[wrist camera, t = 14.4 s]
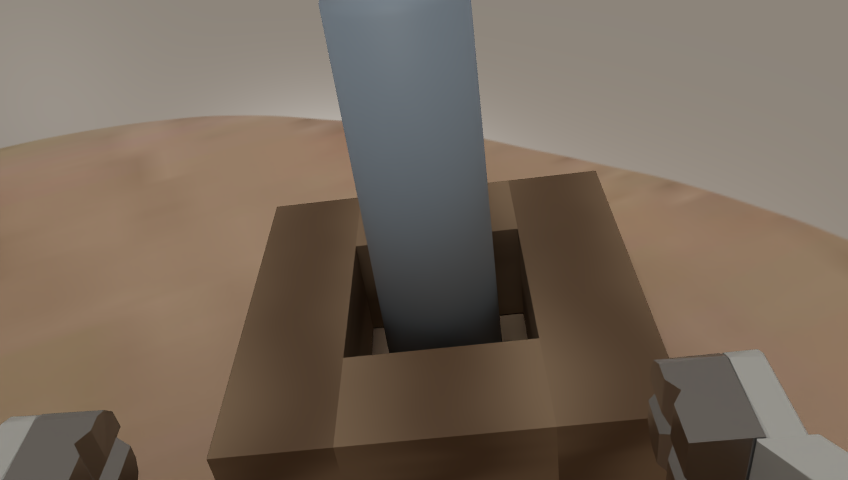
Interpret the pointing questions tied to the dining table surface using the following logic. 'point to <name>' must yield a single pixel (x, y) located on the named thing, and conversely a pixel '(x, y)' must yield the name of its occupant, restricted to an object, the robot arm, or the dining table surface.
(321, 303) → the socket
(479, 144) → the peg
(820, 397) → the dining table surface
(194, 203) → the dining table surface
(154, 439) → the dining table surface
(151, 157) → the dining table surface
